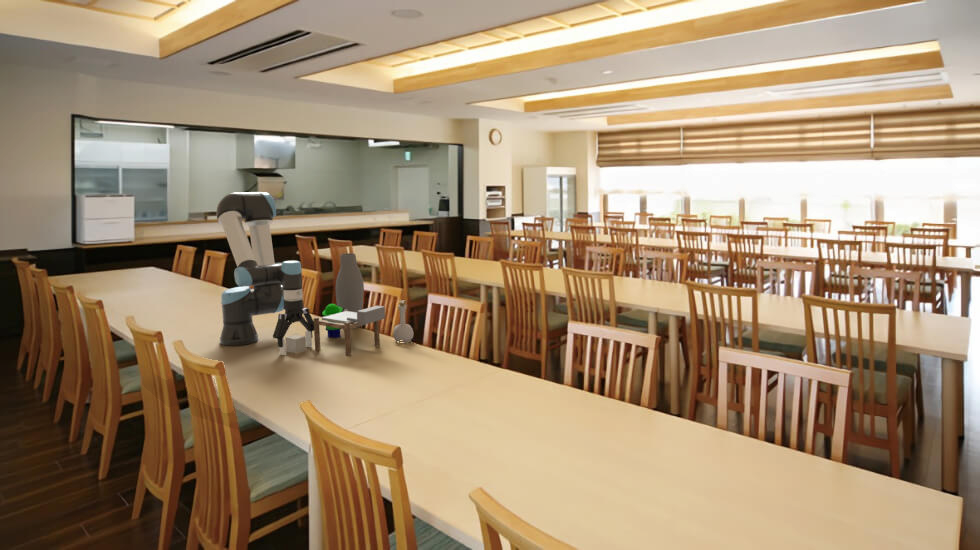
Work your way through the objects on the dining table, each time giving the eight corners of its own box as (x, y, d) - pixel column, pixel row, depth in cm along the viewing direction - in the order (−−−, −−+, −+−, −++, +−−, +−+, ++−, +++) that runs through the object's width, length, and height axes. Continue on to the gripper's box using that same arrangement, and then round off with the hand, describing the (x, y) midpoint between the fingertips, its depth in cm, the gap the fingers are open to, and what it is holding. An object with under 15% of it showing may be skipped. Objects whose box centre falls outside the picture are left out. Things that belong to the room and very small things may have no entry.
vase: (354, 321, 286) (350, 251, 280) (372, 325, 279) (368, 253, 273) (332, 327, 276) (328, 254, 269) (351, 331, 268) (346, 257, 262)
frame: (315, 350, 238) (313, 318, 236) (347, 339, 253) (345, 309, 251) (348, 356, 228) (347, 323, 226) (379, 345, 244) (378, 314, 242)
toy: (347, 335, 261) (346, 302, 259) (336, 339, 253) (335, 306, 251) (330, 333, 264) (329, 301, 262) (319, 338, 256) (317, 305, 253)
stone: (286, 351, 236) (285, 337, 235) (296, 348, 240) (295, 334, 239) (296, 353, 233) (295, 339, 232) (306, 350, 237) (305, 336, 236)
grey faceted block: (321, 319, 237) (321, 306, 236) (346, 313, 248) (345, 300, 248) (363, 326, 225) (362, 312, 225) (386, 319, 237) (386, 306, 236)
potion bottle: (415, 338, 254) (414, 298, 251) (410, 344, 246) (409, 302, 243) (395, 338, 255) (394, 298, 252) (390, 343, 246) (389, 302, 244)
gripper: (274, 305, 221) (277, 359, 224) (323, 295, 242) (325, 344, 245) (261, 303, 224) (264, 356, 228) (310, 293, 246) (312, 341, 249)
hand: (296, 350), depth 236 cm, fingers open, 13 cm apart
